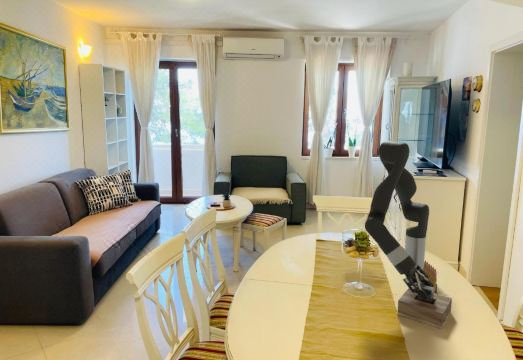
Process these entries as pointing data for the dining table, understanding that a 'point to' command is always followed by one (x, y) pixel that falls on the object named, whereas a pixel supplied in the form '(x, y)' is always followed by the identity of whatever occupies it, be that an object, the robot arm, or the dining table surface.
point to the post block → (425, 309)
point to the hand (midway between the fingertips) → (429, 295)
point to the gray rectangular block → (429, 292)
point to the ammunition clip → (430, 275)
